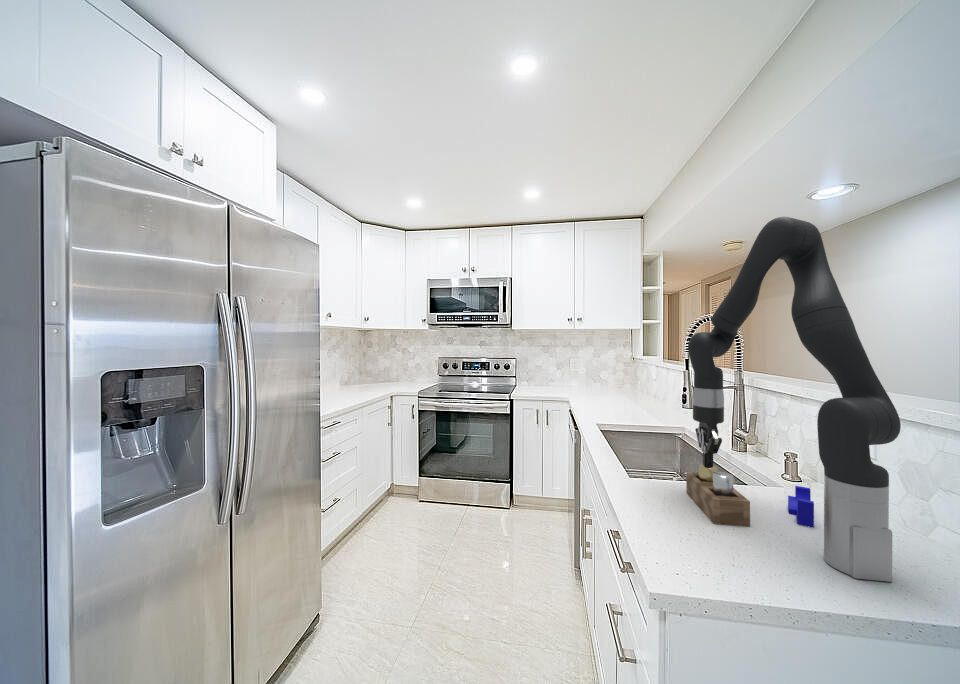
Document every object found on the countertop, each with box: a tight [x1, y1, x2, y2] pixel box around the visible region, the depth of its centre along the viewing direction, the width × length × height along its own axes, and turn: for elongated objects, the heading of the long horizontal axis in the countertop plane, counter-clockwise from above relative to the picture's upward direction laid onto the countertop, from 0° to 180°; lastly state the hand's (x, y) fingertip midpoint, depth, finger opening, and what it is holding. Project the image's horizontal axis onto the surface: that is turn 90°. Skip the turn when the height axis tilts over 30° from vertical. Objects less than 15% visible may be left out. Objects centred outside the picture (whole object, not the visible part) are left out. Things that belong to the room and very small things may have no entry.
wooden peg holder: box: [685, 471, 751, 528], centre depth 105 cm, size 20×8×6 cm, turn 170°
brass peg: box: [698, 463, 718, 482], centre depth 110 cm, size 4×4×6 cm
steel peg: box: [713, 471, 734, 497], centre depth 101 cm, size 4×4×6 cm
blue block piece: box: [787, 485, 815, 528], centre depth 101 cm, size 12×4×6 cm, turn 144°
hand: (707, 466), depth 110 cm, fingers closed
